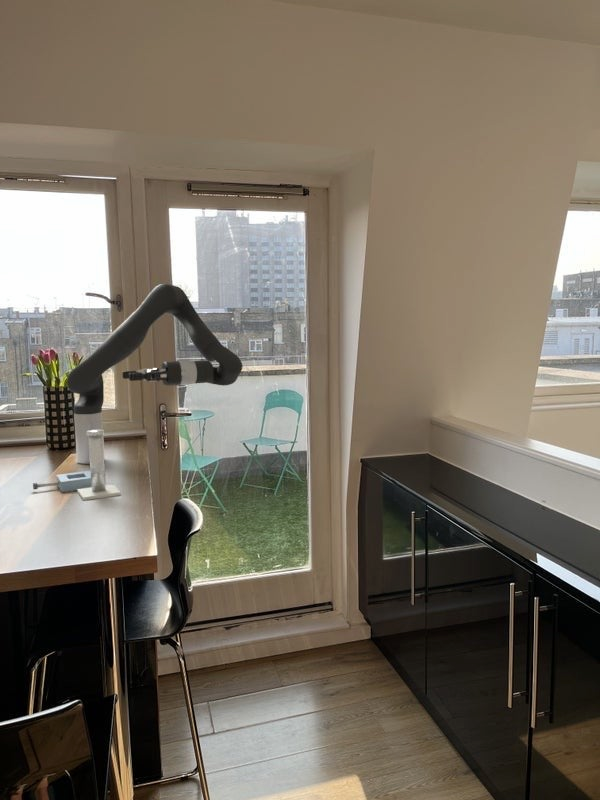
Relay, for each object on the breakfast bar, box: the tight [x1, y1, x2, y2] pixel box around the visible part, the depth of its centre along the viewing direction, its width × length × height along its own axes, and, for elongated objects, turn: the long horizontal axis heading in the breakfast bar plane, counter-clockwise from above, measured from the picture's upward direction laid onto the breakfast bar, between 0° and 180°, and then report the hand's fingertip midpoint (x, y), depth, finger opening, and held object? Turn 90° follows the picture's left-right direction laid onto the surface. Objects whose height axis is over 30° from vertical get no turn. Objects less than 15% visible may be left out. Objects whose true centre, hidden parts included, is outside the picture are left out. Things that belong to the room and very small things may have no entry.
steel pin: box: [87, 429, 107, 492], centre depth 174 cm, size 5×5×17 cm
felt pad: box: [76, 484, 122, 501], centre depth 175 cm, size 10×10×1 cm
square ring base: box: [32, 470, 92, 493], centre depth 182 cm, size 10×17×3 cm, turn 119°
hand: (125, 376), depth 183 cm, fingers open, 8 cm apart
